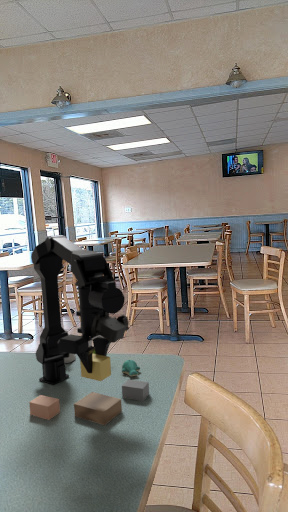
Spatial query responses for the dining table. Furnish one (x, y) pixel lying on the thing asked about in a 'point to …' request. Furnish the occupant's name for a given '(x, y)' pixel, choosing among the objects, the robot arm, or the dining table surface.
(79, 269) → the robot arm
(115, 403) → the walnut block
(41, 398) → the terracotta brick
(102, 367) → the mustard brick
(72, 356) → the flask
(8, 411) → the dining table surface
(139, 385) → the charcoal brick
